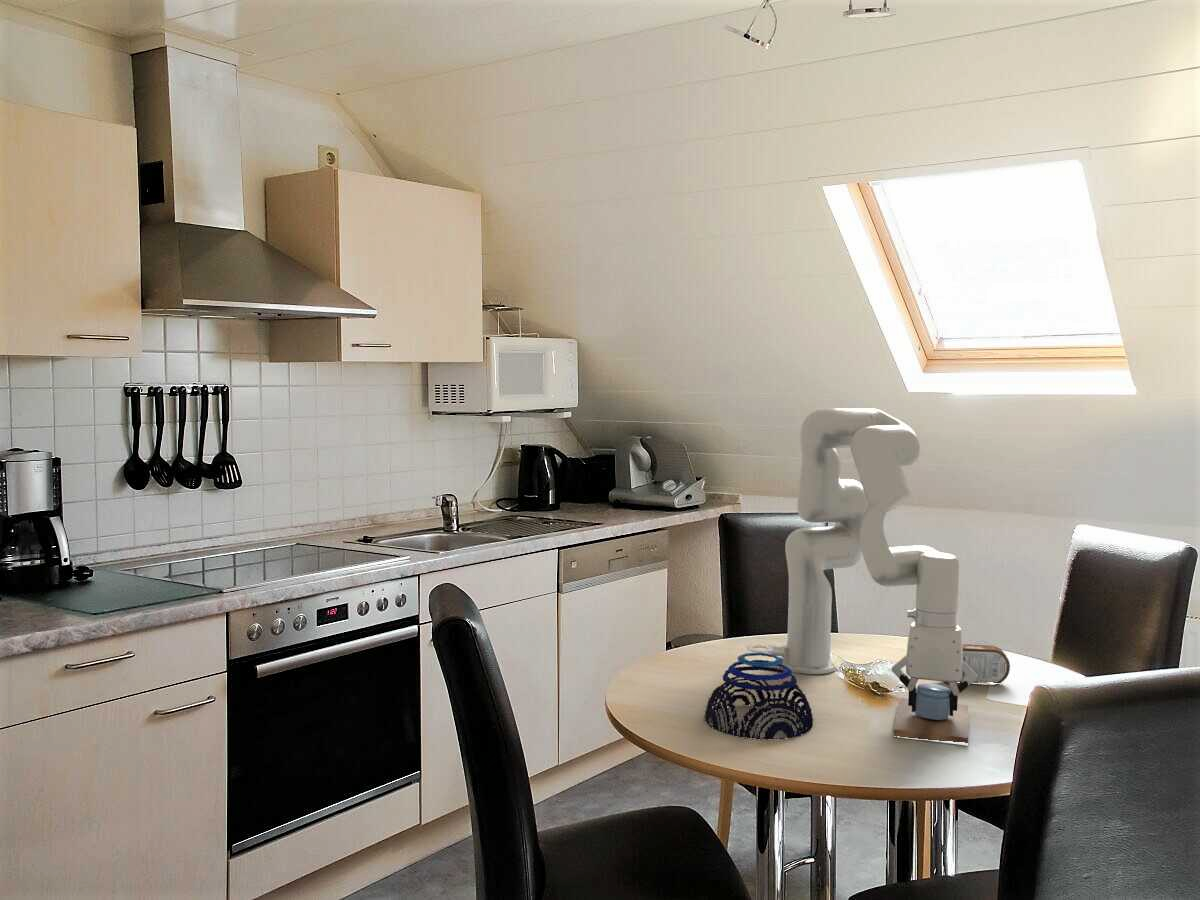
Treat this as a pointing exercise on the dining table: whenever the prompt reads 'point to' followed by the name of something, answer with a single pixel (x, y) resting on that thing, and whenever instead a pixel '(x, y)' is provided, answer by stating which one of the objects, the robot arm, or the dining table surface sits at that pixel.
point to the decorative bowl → (731, 699)
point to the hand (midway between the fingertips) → (932, 711)
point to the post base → (931, 724)
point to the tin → (986, 663)
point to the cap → (932, 701)
